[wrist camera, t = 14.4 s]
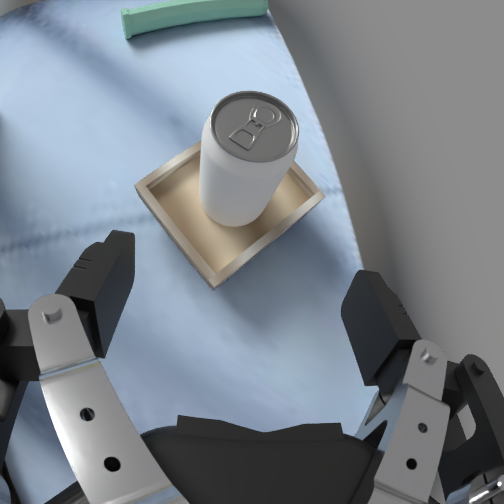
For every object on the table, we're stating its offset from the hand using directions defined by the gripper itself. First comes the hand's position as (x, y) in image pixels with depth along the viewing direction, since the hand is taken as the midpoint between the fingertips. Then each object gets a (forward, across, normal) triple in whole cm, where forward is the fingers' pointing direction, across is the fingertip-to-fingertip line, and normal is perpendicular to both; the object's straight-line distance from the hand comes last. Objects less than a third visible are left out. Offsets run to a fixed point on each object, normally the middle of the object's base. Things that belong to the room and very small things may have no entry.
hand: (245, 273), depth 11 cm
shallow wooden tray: (+23, 0, +8) cm, 24 cm away
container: (+47, +11, -16) cm, 51 cm away
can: (+19, 0, +5) cm, 20 cm away
